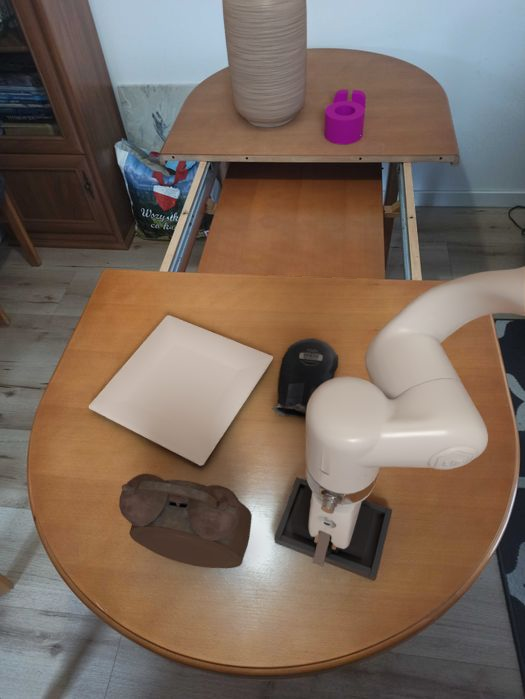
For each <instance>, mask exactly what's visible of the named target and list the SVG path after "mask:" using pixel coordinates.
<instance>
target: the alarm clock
mask: <svg viewBox="0 0 525 699" xmlns="http://www.w3.org/2000/svg"><path fill="white" fill-rule="evenodd" d="M118 507H119V510H120V513H121V515H122V517H123V518H124V519H125V520H126V521H127V522H129V523H130V524H131V526H130V529H129V533H128V534H129V536H130V537H131V539H132V540H133V541H134V542H136V543H137V544H139V545H140V546H141V547H144V548H145V549H147V550H149V551H151V552H153V553H155V554H156V555H159V556H161V557H164V558H165V559H169V560H171V561H175V562H178V563H182V564H185V565H190V566H194V567H199V568H208V569H209V568H210V569H233V568H237V567H240V566H241V565H242V564H243V562H244V557H245V554H246V552H247V549H248V547H249V546H248V545H249V541H250V536H251V527H252V520H253V514H252V512H251V510H250V509H249V508H248V506H246V505H245V504H244V503H242V502H241V500H239V498H238V497H237V495H236V493H235V492H234V491H233V490H231V489H230V488H228V487H227V486H223V485H220V484H214V485H213V484H212V485H211V484H209V485H207V484H203V483H199V482H195V481H188V480H181V479H166V480H165V479H163V478H162V477H160V476H158V475H156V474H151V473H141V474H137V475H136V476H134V477H132V478H131V479H130V480H128V481H127V483H124V484H122V486H121V492H120V494H119V502H118Z"/></svg>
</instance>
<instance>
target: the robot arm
mask: <svg viewBox="0 0 525 699" xmlns="http://www.w3.org/2000/svg"><path fill="white" fill-rule="evenodd" d="M496 314H513V315H518V316H521V317H525V265H523V266H521V267H516V268H509V269H497V270H487V271H486V270H485V271H481V272H475V273H470V274H467V275H463V276H460V277H456V278H454V279H451V280H447V281H444V282H442V283H440V284H437V285H435V286H433V287H430V288H429V289H426V291H423V292H422V293H420V294H419V295H417V296H416V297H415V298H414V299H412V300H411V301H410V302H408V304H407V305H406V306H404V307H403V308H402V309H401V310H400V311H399V312H397V313H396V314H395V316H393V317H392V318H391V319H390V320H389V321H387V323H386V324H384V325H383V327H381V329H379V331H378V332H376V334H375V335H374V336H373V338H372V339H371V341H370V342H369V344H368V345H367V348H366V351H365V354H364V356H365V357H364V361H365V362H364V364H365V369H366V372H367V375H368V377H369V380H367V379H365V378H362V377H357V376H352V375H350V376H348V375H347V376H346V375H344V376H337V377H334V378H333V379H330V380H328V381H326V382H324V383H323V384H321V385H320V386H319V387H318V388H317V389H316V390H315V391H314V392H313V394H312V395H311V397H310V399H309V402H308V405H307V410H306V418H305V480H307V482H308V484H309V487H310V488H311V490H312V497H311V501H310V503H311V505H310V513H309V533H310V535H311V536H312V537H315V538H314V544H315V547H314V549H315V555H314V558H312V564H315V565H317V566H320V567H324V564H325V563H326V562H325V559H326V556H327V557H328V556H329V555H331V551H332V552H335V553H338V551H339V548H342V549H345V548H347V547H348V546H349V544H350V541H351V537H352V534H353V531H354V527H355V524H356V520H357V517H358V513H359V510H360V506H361V502H362V501H363V500H367V498H368V497H369V496H370V495H371V494H372V492H373V490H374V489H375V486H376V483H377V479H378V476H379V473H380V468H415V469H416V468H417V469H419V468H421V469H422V468H423V469H434V470H438V471H439V470H440V471H447V470H453V469H454V470H455V469H457V468H461V467H464V466H465V465H468V464H470V463H471V462H472V461H473V460H475V459H477V458H479V457H480V455H482V454H483V453H484V452H485V451H486V448H487V446H488V443H489V433H488V428H487V425H486V424H485V422H484V419H483V417H482V416H481V414H480V411H479V409H477V406H476V405H475V403H474V401H473V400H472V398H471V396H470V395H469V393H468V391H467V389H466V387H465V386H464V384H463V382H462V380H461V379H460V376H459V375H458V373H457V371H456V369H455V367H454V365H453V364H452V363H451V360H450V359H449V357H448V355H447V353H446V351H445V349H444V348H443V346H442V343H443V342H444V341H445V340H446V339H448V338H449V337H450V336H451V335H452V334H454V333H455V332H456V331H458V330H459V329H461V328H462V327H463V326H465V325H467V324H468V323H471V322H472V321H474V320H476V319H479V318H481V317H485V316H489V315H496Z"/></svg>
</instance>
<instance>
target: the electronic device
mask: <svg viewBox="0 0 525 699" xmlns="http://www.w3.org/2000/svg"><path fill="white" fill-rule="evenodd" d="M338 367H339V354H337V352H336V351H335V349H334V347H333V346H332V345H330V344H329V343H328V342H326V341H323V340H321V339H318V338H315V337H307V338H303V339H299V340H298V341H295V342H294V343H292V344H291V345H289V346H288V347H287V350H286V352H285V353H284V355H283V357H282V360H281V363H280V367H279V376H278V384H277V394H278V395H277V397H278V399H277V403H276V405H273V407H272V408H271V410H272V411H273V412H274V413H275V415H277V416H281V417H282V416H283V417H293V418H302V419H306V410H307V405H308V402H309V399H310V397H311V395H312V394H313V392H314V391H315V390H316V389H317V388H318V387H319V386H320V385H321V384H323V383H324V382H326V381H328V380H330V379H333V378H335V372H336V371H337V369H338Z"/></svg>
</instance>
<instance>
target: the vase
mask: <svg viewBox="0 0 525 699" xmlns="http://www.w3.org/2000/svg"><path fill="white" fill-rule="evenodd" d="M221 2H222V3H221V6H222V19H223V28H224V37H225V38H224V39H225V48H226V56H227V64H228V65H227V66H228V73H229V82H230V89H231V96H232V100H233V105H234V108H235V110H236V111H237V113H238V114H239V115H240V116H241V117H242V118H244V119H245V120H246V121H247V122H248V124H251V125H253V126H256V127H259V128H276V127H281V126H283V125H286V124H288V123H290V122H292V121H293V119H294V118H295V117H296V115H297V114H298V113H300V111H301V109H303V106H304V105H305V102H306V98H307V86H308V85H307V84H308V83H307V80H308V79H307V78H308V77H307V75H308V74H307V73H308V7H307V0H221Z"/></svg>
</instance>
